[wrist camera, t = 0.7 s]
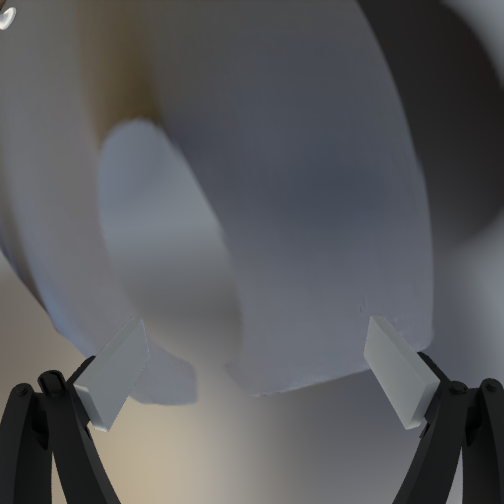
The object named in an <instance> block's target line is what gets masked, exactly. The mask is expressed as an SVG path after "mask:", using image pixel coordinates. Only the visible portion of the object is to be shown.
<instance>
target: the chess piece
mask: <svg viewBox="0 0 504 504" xmlns="http://www.w3.org/2000/svg"><path fill="white" fill-rule="evenodd" d="M15 15H16V9H15V8H9V9H8V10H7V11H6V12H5V13H4V14H0V29H2V30H4V29H6V28H7V27H9V25H10V24H11V23H12V21H13V19H14V17H15Z"/></svg>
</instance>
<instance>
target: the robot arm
mask: <svg viewBox="0 0 504 504" xmlns="http://www.w3.org/2000/svg"><path fill="white" fill-rule="evenodd" d="M363 356H364V357H365V359H366V361H367V362H368V364H369V366H370V367H371V369H372V371H373V372H374V374H375V376H376V378H377V379H378V381H379V383H380V384H381V386H382V388H383V390H384V391H385V393H386V395H387V397H388V399H389V400H390V402H391V404H392V406H393V407H394V409H395V411H396V413H397V414H398V416H399V418H400V420H401V422H402V423H403V425H404V427H405V429H406V430H407V429H411V428H414V427H417V426H420V424H421V422H422V420H423V418H424V417H425V419H426V420H427V424H426V426H425V428H424V430H423V431H422V433H421V435H420V438H421V440H420V443H419V445H418V448H417V451H416V453H415V456H414V458H413V461H412V463H411V465H410V468H409V470H408V472H407V475H406V477H405V479H404V481H403V483H402V485H401V487H400V489H399V491H398V494H397V495H396V497H395V499H394V502H393V503H392V504H446V501H447V498H448V495H449V492H450V489H451V486H452V482H453V479H454V475H455V472H456V468H457V464H458V459H459V455H460V451H461V446H462V459H463V499H462V504H504V389H503V386H502V385H501V383H500V382H499V381H497V380H495V379H491V378H488V379H485V380H483V381H482V383H481V385H480V387H479V388H472V389H468V387H467V386H466V385H465V384H464V383H462V382H459V381H450V380H449V379H448V378H447V376H446V375H445V374H444V373H443V372H442V371H441V370H440V369H439V367H437V365H436V364H435V363H433V361H432V360H431V359H430V357H429V356H427V355H425V354H424V353H422V352H417V353H416V352H415V351H414V350H413V348H412V347H411V346H410V345H409V344H408V343H407V342H406V341H405V339H404V338H403V337H402V336H401V335H400V334H399V333H398V332H397V331H396V330H395V328H394V327H393V326H392V325H391V324H390V323H389V322H388V321H387V320H386V319H385V318H384V316H383V315H375V316H370V322H369V328H368V334H367V339H366V345H365V350H364V354H363ZM149 359H150V354H149V349H148V345H147V340H146V335H145V330H144V324H143V319H142V318H133V317H131V318H130V319H129V320H128V321H127V322H126V323H125V324H124V326H123V327H122V328H121V329H120V330H119V331H118V332H117V333H116V335H115V336H114V337H113V338H112V339H111V340H110V341H109V343H108V344H107V345H106V346H105V347H104V348H103V349H102V351H101V352H100V353H99V354H98V355H97V356H91V357H89V358H88V359H86V360H85V361H84V362H83V363H82V364H81V366H80V367H79V368H78V369H77V370H76V371H75V372H74V373H73V374H72V376H71V377H70V378H69V379H68V380H67V381H66V382H65V379H64V377H63V375H62V373H61V372H60V371H57V370H49V371H46V372H44V373H42V374H41V375H40V376H39V377H38V384H39V386H40V387H41V390H42V392H43V393H37V392H34V390H33V388H32V387H31V385H30V384H27V383H21V384H18V385H16V386H15V387H14V388H13V389H12V391H11V393H10V396H9V399H8V402H7V404H6V407H5V410H4V414H3V417H2V420H1V423H0V504H52V494H51V473H52V471H51V470H52V452H53V455H54V459H55V463H56V467H57V471H58V475H59V479H60V482H61V485H62V489H63V492H64V495H65V498H66V501H67V504H121V503H120V501H119V499H118V497H117V495H116V493H115V491H114V489H113V487H112V485H111V483H110V481H109V479H108V477H107V474H106V472H105V470H104V468H103V465H102V463H101V460H100V458H99V455H98V453H97V450H96V448H95V445H94V442H93V439H92V437H91V434H90V431H89V429H88V427H87V424H88V423H89V421H91V423H92V425H93V426H94V428H95V429H98V430H102V431H106V432H109V430H110V428H111V426H112V424H113V422H114V421H115V419H116V417H117V415H118V413H119V411H120V410H121V408H122V406H123V404H124V402H125V401H126V399H127V397H128V395H129V394H130V392H131V390H132V388H133V387H134V385H135V383H136V381H137V380H138V378H139V376H140V374H141V373H142V371H143V369H144V367H145V366H146V364H147V362H148V360H149Z"/></svg>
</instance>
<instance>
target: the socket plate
mask: <svg viewBox="0 0 504 504" xmlns="http://www.w3.org/2000/svg"><path fill="white" fill-rule="evenodd" d="M4 2H5V0H0V10H1V8H2V6H3V4H4Z"/></svg>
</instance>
